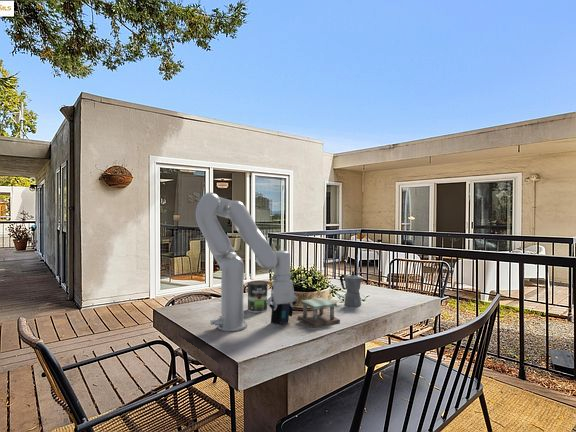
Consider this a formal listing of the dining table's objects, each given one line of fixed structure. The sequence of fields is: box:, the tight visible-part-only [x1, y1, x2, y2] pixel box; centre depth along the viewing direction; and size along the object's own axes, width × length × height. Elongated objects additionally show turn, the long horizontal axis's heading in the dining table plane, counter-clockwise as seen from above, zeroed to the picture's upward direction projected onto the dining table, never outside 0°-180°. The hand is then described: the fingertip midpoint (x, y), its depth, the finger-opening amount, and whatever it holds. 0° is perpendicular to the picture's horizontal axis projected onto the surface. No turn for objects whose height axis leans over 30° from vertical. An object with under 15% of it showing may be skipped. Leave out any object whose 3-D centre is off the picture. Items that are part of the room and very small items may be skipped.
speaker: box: [270, 302, 290, 326], centre depth 156 cm, size 8×6×10 cm
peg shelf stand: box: [297, 297, 341, 328], centre depth 158 cm, size 14×14×9 cm
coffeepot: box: [339, 271, 364, 308], centre depth 188 cm, size 15×9×18 cm, turn 44°
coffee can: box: [247, 280, 269, 314], centre depth 177 cm, size 10×10×14 cm
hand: (282, 316), depth 156 cm, fingers closed on speaker, 6 cm apart
